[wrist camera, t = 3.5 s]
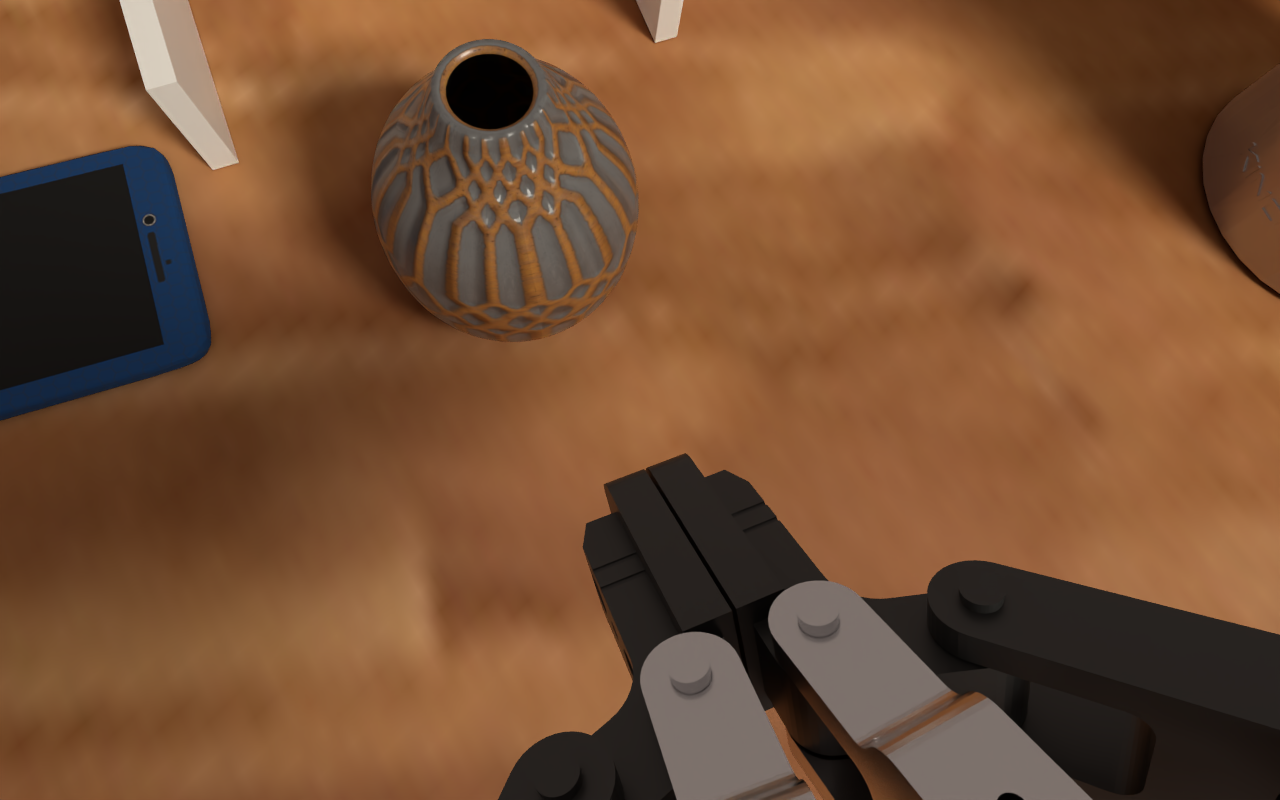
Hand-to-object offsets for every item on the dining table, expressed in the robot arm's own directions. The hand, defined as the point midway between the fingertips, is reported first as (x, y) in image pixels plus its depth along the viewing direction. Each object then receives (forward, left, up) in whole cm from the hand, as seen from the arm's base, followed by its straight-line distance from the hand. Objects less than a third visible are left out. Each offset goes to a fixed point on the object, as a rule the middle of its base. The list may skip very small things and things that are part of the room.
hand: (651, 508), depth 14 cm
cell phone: (+16, -13, -10) cm, 23 cm away
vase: (0, -9, -10) cm, 13 cm away
